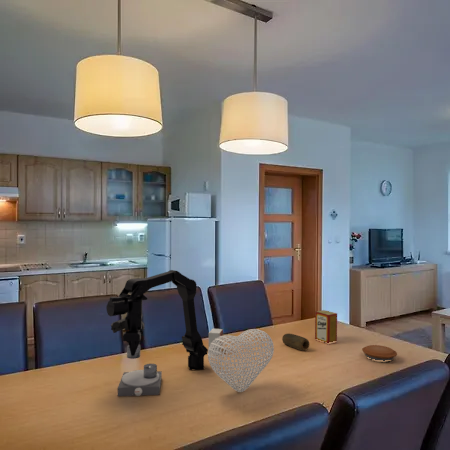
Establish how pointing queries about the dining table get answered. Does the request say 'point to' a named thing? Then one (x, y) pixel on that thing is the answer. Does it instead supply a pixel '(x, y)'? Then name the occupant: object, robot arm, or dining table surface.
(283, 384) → the dining table surface
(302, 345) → the stone weight
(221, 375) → the heart
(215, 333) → the small box
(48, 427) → the dining table surface
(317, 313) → the baking soda box
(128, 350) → the cylinder
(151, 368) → the cylinder
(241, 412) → the dining table surface
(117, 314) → the robot arm
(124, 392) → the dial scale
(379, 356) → the pie
